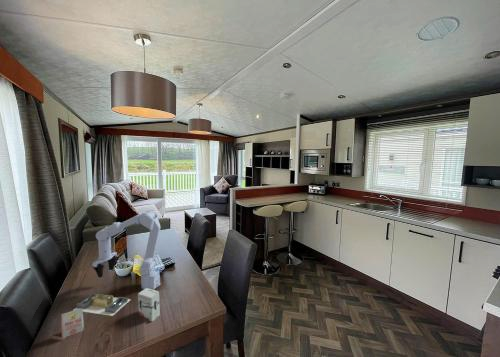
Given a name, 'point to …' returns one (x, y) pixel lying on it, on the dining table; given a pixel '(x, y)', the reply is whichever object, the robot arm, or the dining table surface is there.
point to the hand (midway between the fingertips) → (106, 273)
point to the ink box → (149, 304)
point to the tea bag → (71, 323)
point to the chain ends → (110, 308)
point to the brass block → (101, 300)
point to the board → (100, 309)
